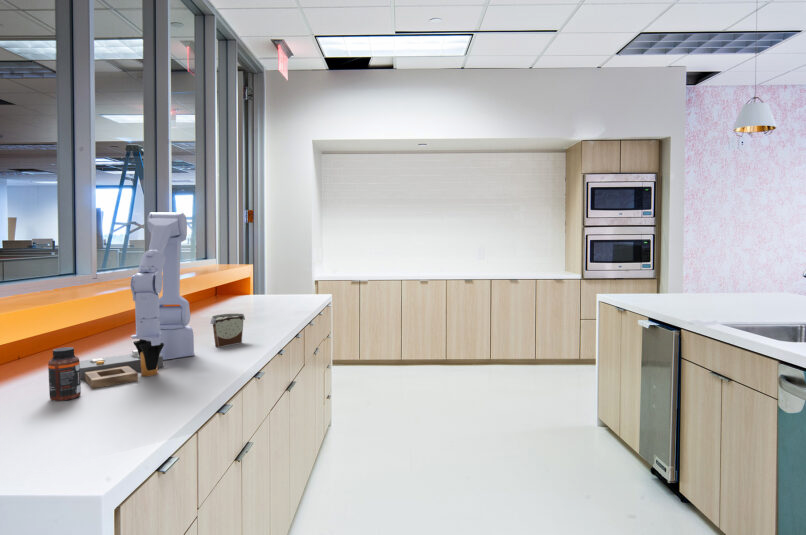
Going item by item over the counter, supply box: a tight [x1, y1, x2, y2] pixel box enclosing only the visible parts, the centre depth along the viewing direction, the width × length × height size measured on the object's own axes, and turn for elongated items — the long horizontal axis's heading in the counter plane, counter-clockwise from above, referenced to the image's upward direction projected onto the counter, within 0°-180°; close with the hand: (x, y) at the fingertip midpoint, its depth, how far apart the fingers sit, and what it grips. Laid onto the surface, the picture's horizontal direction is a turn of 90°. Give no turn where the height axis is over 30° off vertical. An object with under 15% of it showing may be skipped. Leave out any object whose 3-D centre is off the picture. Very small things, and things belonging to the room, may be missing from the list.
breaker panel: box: [79, 353, 164, 381], centre depth 138 cm, size 20×9×4 cm, turn 131°
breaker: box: [131, 349, 139, 358], centre depth 142 cm, size 2×2×2 cm
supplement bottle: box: [47, 346, 82, 402], centre depth 114 cm, size 6×6×11 cm
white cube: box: [91, 357, 104, 363], centre depth 136 cm, size 2×2×2 cm
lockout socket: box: [84, 366, 139, 389], centre depth 128 cm, size 10×10×2 cm
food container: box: [210, 313, 246, 349], centre depth 172 cm, size 12×6×10 cm, turn 145°
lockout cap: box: [140, 352, 159, 377], centre depth 134 cm, size 4×4×6 cm
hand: (149, 368), depth 134 cm, fingers closed on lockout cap, 4 cm apart
